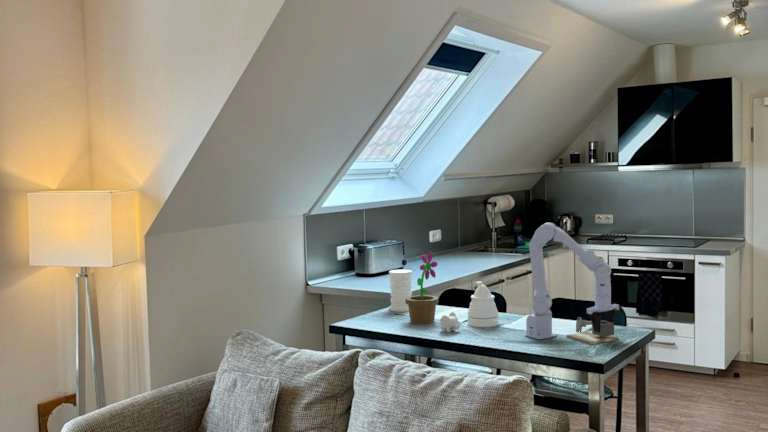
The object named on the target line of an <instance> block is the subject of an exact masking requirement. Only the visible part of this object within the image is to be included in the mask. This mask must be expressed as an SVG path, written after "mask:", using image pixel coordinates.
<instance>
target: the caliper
mask: <svg viewBox="0 0 768 432" xmlns="http://www.w3.org/2000/svg"><path fill="white" fill-rule="evenodd" d="M575 321H576V322H575V323H576V324H575V333H576V332H579V331H580V332H579V333H581V332H582V329H583V328H586V327H587V326H592V321H591V320H587V319H582V317H580V316H578V317H577V319H576V320H575Z"/></svg>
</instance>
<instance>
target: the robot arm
mask: <svg viewBox="0 0 768 432" xmlns="http://www.w3.org/2000/svg"><path fill="white" fill-rule="evenodd" d="M552 239H553V240H552ZM551 240H552V241H553V242H556V243H557V242H558V243H562V244H563V245H564V246H565V247H567V248H568V249H569V250H571V252H573V253H575V254H576V255H577V256H578V261H579V262H580V263H581V265H583V266H585V267H586V268H587V269H588V270H589V271H590V272H593V274H594V276H595V283H594V293H595V294H594V299H595V300H594V306H591V307H588V308H586V314H587V315H588V317H589V319H590V321H592V324H593V327H594V331H595V332H600V323H601V321H602V318H603V314H604V318H605V321H608V322H612V323H614V324H615V321H616V318H617V317H618V315H619V310H620V305H619V304H617V303H613V304H612V283H611V280H612V279H611V274H612V268H611V266H610V265H609V263H608V262H606V261H605V260H604V259H603V258H602V259H601V258H600V257H599V256H597V255H596V254H595V250H593V249H589V248H585V249H584V247H582V246H581V245H580V244H579V243H577V242H576V241H575V239H573V238H572V237H571V236H570V235H569V234H568V233H566V231H564V230H563V228H561V227H559V226H557V225H556V224H555V223H553V222H545V223H543V224H541V225H540V226H539V227H537V229H536V230H535V231H534V234H533V236H532V238H531V239H530V241H529V243H528V249H529V257H530V266H531V275H532V282H533V302H532V305H531V306H532V310H533V311H532V314H531V315H528V316H527V317H526V322H525V323H526V333H525V336H526V337H529V338H533V339H536V340H541V339H548V338H549V339H550V338H553V337H558V335H557V334H555V333H553V321H552V320H553V319H552V318H553V313H552V310H551V307H552V304H553V300H552V298H551V297H550V294H549V290H548V287H547V280H546V279H547V278H546V270H545V269H546V267H545V261H544V260H545V259H544V254H543V253H544V252H543V247H545V245H546V243H547V242H549V241H551ZM600 313H603V314H600Z"/></svg>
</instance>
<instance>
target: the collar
mask: <svg viewBox="0 0 768 432" xmlns="http://www.w3.org/2000/svg"><path fill="white" fill-rule="evenodd" d="M591 331H592V334H595V335H598V336H602V337H604V336H610V335H614V336H615V322H614V323H612V322H608V321H606V320H603V319H601V323H600V332H595V331H594V327H593V324H592V325H591Z"/></svg>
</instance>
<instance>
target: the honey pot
mask: <svg viewBox="0 0 768 432" xmlns="http://www.w3.org/2000/svg"><path fill="white" fill-rule="evenodd" d="M475 283H476V286H477V287H476V289H475V291H474V293H473V294H471V296H470V299H471V301H470V302H469V307H468V310H467V325H468V324H469V325H468V326H470V325H471V327H477V328H478V327H479V328H491V327H496V326H498V325H499V310H498V308H497V306H496V303H495V298H496V297H495V295H494V294H492V293H491V291H490V290H489V288H488V287H487V286H486V285H485V284H483V281H476V282H475Z"/></svg>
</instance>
